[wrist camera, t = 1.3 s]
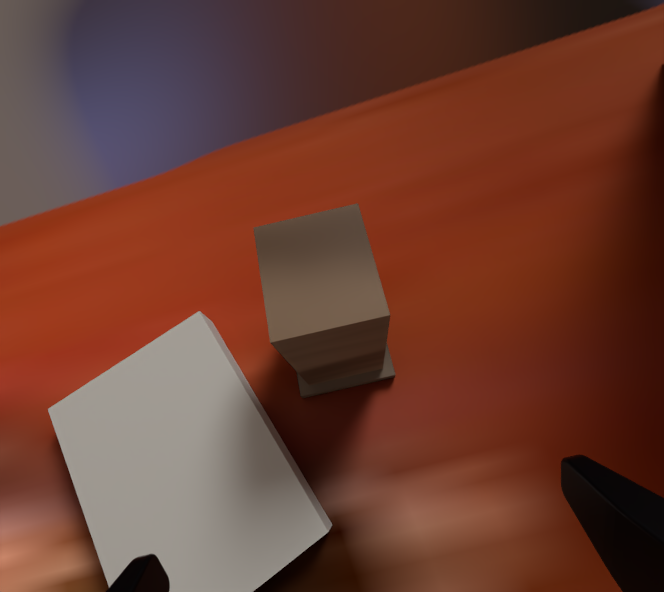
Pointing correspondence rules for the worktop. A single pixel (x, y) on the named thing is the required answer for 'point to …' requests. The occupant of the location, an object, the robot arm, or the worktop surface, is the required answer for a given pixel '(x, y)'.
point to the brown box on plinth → (325, 300)
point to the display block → (186, 467)
